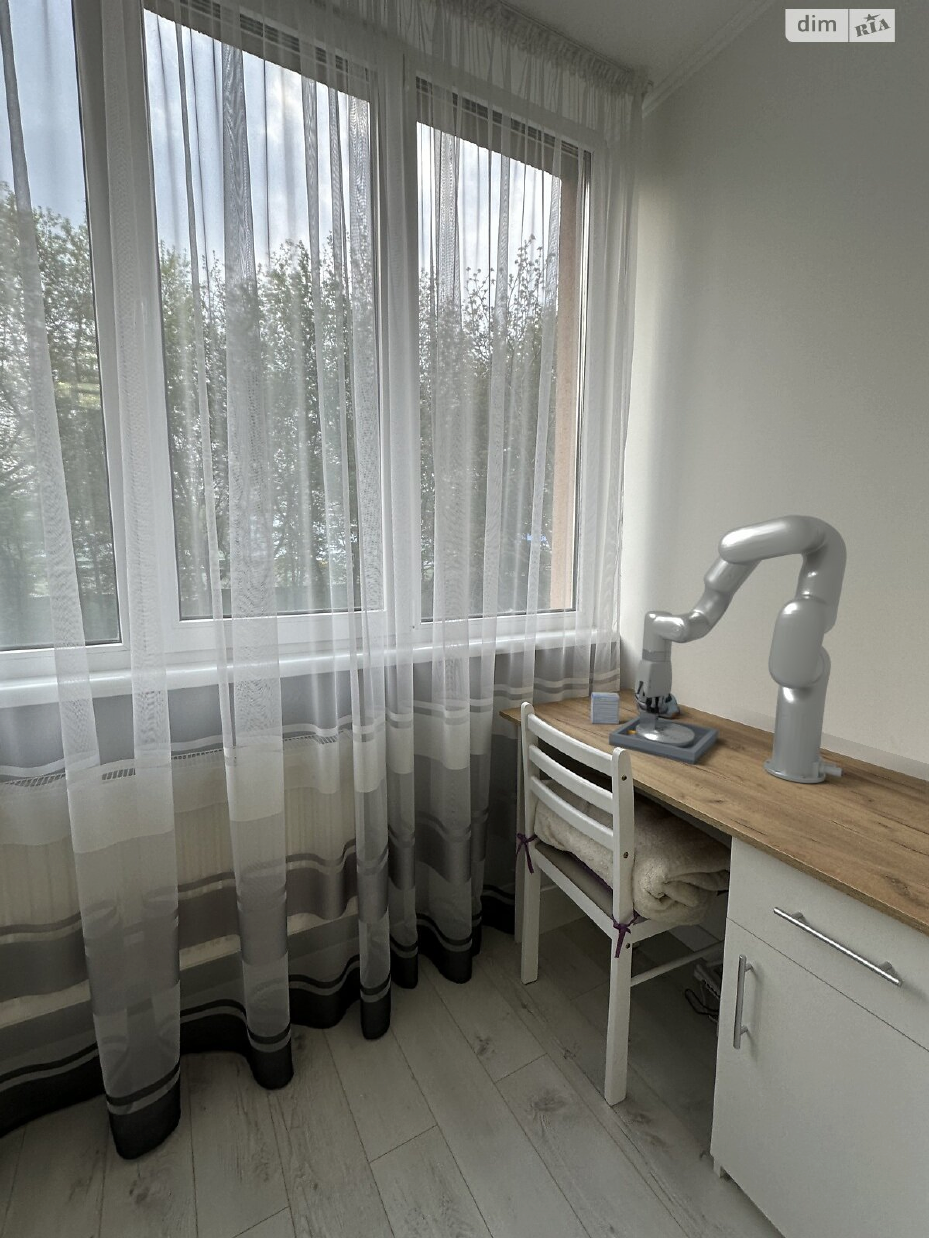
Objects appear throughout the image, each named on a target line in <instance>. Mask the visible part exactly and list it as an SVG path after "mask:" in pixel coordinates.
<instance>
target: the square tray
mask: <svg viewBox="0 0 929 1238" xmlns="http://www.w3.org/2000/svg"><path fill="white" fill-rule="evenodd" d="M639 719H640V713H639V714H638V715H636V716H634V717H633V718H631V719H630V720H629V721H626V722H625V723H623V724H622V725H621V726H619V727H618V728H616V729H615V730H613V731H612V732H610V733H609V735H608V737H609V738H608V745H610V746H614V747H618V748H622V747H623V748H622V749H627V750H630V751H634V752H635V751H636V752H638V753H639V752H640V753H642V754H648V755H653V756H655V757H659V758H664V759H669V760H672V761H677V762H680V763H685V764H688V765H693V766H694V765H695V764H696V763H698V761H699V760H700V759H701V758H702V757H703V756H704V755H705V754H706V753H707V752H708V751H709V750H710V748H712V747H713V746H714V744H716V743H717V742H718V740H719V729H716V728H712V727H707V726H702V725H697V724H692V723H687V722H684V721H677V720H674V719H673V720H672V719H666V718H663V717H659V718H658V722H667V723H673V724H678V725H681V726H684V727H687V728H689V729H691V730H692V731H693V732H694V743H693V744H692V745H690V746H687V747H681V748H679V747H675V746H671V745H666V744H662V743H657V742H653V741H648V740H644V739H639V738H637V737H636V735H635V734H636V726H637V725H638V724H639Z"/></svg>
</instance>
